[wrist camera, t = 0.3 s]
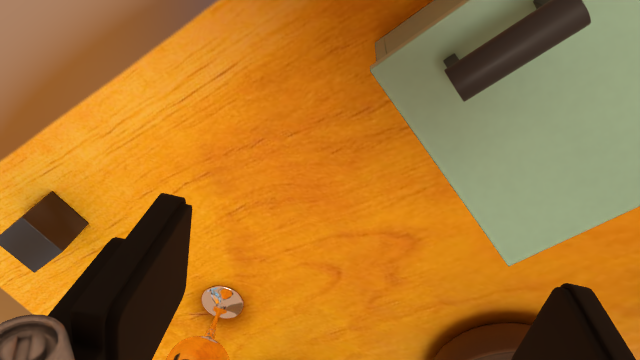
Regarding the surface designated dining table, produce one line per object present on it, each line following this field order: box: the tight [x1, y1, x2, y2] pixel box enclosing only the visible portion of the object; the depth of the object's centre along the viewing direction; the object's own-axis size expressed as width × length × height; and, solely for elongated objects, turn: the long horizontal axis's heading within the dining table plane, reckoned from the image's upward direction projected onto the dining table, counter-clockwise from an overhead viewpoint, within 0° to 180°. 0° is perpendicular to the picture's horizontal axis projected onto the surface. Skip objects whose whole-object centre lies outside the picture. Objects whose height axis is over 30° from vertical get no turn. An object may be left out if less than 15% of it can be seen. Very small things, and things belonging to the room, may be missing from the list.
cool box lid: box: [370, 0, 640, 266], centre depth 24 cm, size 16×13×5 cm
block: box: [0, 191, 88, 273], centre depth 42 cm, size 4×4×4 cm
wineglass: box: [166, 286, 244, 360], centre depth 43 cm, size 6×6×12 cm
